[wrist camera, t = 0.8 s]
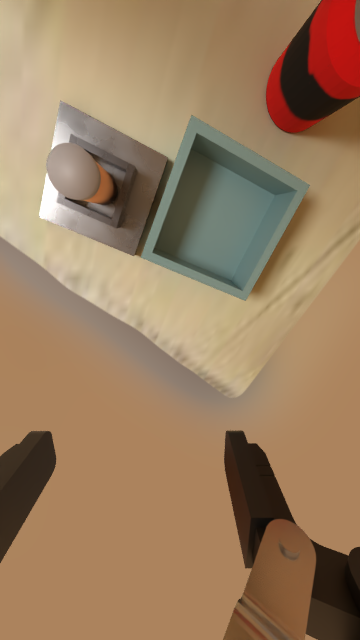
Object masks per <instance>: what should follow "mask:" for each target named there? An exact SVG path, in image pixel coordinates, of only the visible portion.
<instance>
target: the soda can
mask: <svg viewBox="0 0 360 640" xmlns="http://www.w3.org/2000/svg"><path fill="white" fill-rule="evenodd" d="M358 97H360V0H321V2H320V3H319V4H318V6H317V7H316V9H315V10H314V11H313V13H312V14H311V15H310V17H309V18H308V19H307V21H306V22H305V23H304V25H303V26H302V27H301V29H300V30H299V32H298V33H297V34H296V36H295V37H294V38H293V40H292V41H291V42H290V44H289V45H288V46H287V48H286V49H285V51H284V52H283V53H282V55H281V56H280V57H279V59H278V60H277V62H276V63H275V65H274V67H273V68H272V71H271V73H270V76H269V80H268V84H267V91H266V101H267V107H268V112H269V114H270V116H271V118H272V120H273V121H274V123H275V124H276V125H277V126H278V127H279V128H280V129H282V130H284V131H287V132H300V131H303V130H305V129H307V128H309V127H311V126H312V125H314V124H316V123H317V122H319V121H321V120H322V119H324V118H326V117H327V116H329V115H330V114H332V113H334V112H335V111H337V110H339V109H340V108H342V107H343V106H345V105H347V104H348V103H350V102H352V101H353V100H355V99H356V98H358Z"/></svg>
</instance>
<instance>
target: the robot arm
mask: <svg viewBox="0 0 360 640" xmlns="http://www.w3.org/2000/svg"><path fill="white" fill-rule="evenodd" d="M224 463H225V472H226V477H227V482H228V487H229V491H230V496H231V501H232V506H233V511H234V516H235V520H236V525H237V530H238V535H239V540H240V545H241V549H242V554H243V559H244V564H245V568H252V571H251V573H250V576H249V579H248V582H247V584H246V587H245V590H244V593H243V595H242V597H241V599H239V600H238V602H237V604H236V606H235V608H234V611H233V613H232V616H231V619H230V622H229V625H228V627H227V630H226V633H225V636H224V639H223V640H305V634H307V635H309V636H311V637H313V638H316V639H318V640H360V547H356V548H354V549H352V550H351V552H350V554H349V556H348V555H345V554H342V553H340V552H337V551H334V550H332V549H329V548H326V547H323V546H321V545H319V544H317V543H316V542H314V541H312V540H311V539H310V538H309V537H308V536H307V535H306V534H305V532H304V531H303V530H302V529H301V528H300V527H299V526H297V524H296V523H295V521H294V519H293V517H292V515H291V512H290V510H289V508H288V505H287V503H286V501H285V498H284V496H283V494H282V492H281V489H280V487H279V484H278V482H277V480H276V478H275V476H274V473H273V470H272V468H271V467H270V463H269V461H268V459H267V456H266V454H265V453H264V452H263V450H262V449H261V448H260V447H259V446H258V445H257V444H248V442H247V440H246V437H245V434H244V432H243V431H226V438H225V454H224ZM55 465H56V455H55V449H54V444H53V439H52V434H51V432H49V431H31V432H30V433H29V434H28V435H27V436H26V437H25V438H24V439H23V441H22V442H21V443H20V444H16V445H15V446H13V447H12V448H10V449H9V450H7V451H6V452H5V453H4V454H2V455H1V456H0V563H1V561H2V559H3V557H4V556H5V554H6V552H7V551H8V549H9V547H10V546H11V544H12V542H13V540H14V539H15V537H16V535H17V534H18V531H19V530H20V528H21V527H22V525H23V523H24V522H25V520H26V518H27V516H28V515H29V513H30V511H31V509H32V507H33V506H34V504H35V502H36V501H37V499H38V497H39V496H40V494H41V492H42V490H43V489H44V487H45V485H46V484H47V482H48V480H49V479H50V477H51V475H52V473H53V471H54V468H55Z"/></svg>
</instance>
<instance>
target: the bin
mask: <svg viewBox="0 0 360 640" xmlns="http://www.w3.org/2000/svg"><path fill="white" fill-rule="evenodd" d="M309 186H310V185H309V184H307V183H306V182H304V181H302V180H301V179H299V178H297V177H295V176H294V175H292V174H290V173H289V172H287V171H285V170H284V169H282V168H280V167H279V166H277V165H275V164H274V163H272V162H270V161H268V160H267V159H265V158H263V157H262V156H260V155H258V154H257V153H255V152H253V151H252V150H250V149H248V148H247V147H245V146H243V145H241V144H240V143H238V142H236V141H235V140H233V139H231V138H230V137H228V136H226V135H225V134H223V133H221V132H220V131H218V130H216V129H214V128H213V127H211V126H209V125H208V124H206V123H204V122H203V121H201V120H199V119H198V118H196V117H194V116H193V115H191V118H190V121H189V124H188V126H187V129H186V132H185V135H184V138H183V140H182V143H181V146H180V149H179V152H178V154H177V157H176V160H175V163H174V166H173V168H172V171H171V174H170V177H169V180H168V183H167V185H166V188H165V191H164V194H163V197H162V199H161V202H160V205H159V208H158V211H157V213H156V216H155V219H154V222H153V225H152V227H151V230H150V233H149V236H148V239H147V242H146V244H145V247H144V250H143V253H142V256H141V258H143V259H146V260H148V261H150V262H153V263H155V264H158V265H160V266H162V267H165V268H167V269H170V270H172V271H175V272H177V273H179V274H182V275H184V276H187V277H189V278H191V279H194V280H196V281H199V282H201V283H204V284H206V285H208V286H211V287H213V288H216V289H218V290H220V291H223V292H225V293H228V294H230V295H233V296H235V297H237V298H240V299H242V300H245V301H246V299H247V297H248V296H249V294H250V292H251V290H252V288H253V287H254V285H255V283H256V281H257V280H258V278H259V276H260V274H261V272H262V271H263V269H264V267H265V265H266V263H267V262H268V260H269V258H270V256H271V254H272V253H273V251H274V249H275V247H276V245H277V244H278V242H279V240H280V238H281V237H282V235H283V233H284V231H285V229H286V228H287V226H288V224H289V222H290V220H291V219H292V217H293V215H294V213H295V211H296V210H297V208H298V206H299V204H300V203H301V201H302V199H303V197H304V195H305V194H306V192H307V190H308V188H309Z"/></svg>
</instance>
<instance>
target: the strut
mask: <svg viewBox="0 0 360 640" xmlns="http://www.w3.org/2000/svg"><path fill="white" fill-rule="evenodd" d="M46 166H47V174H48V177H49V179H50V182H51V183H52V185H53V186H54V188H55V189H56V190H57V191H58V192H59V193H60V194H62V195H63V196H65V197H67V198H70V199H74V200H80V201H82V200H84V201H88V202H92V203H96V204H100V205H108V204H110V203H111V202H113V201H114V199H115V198H116V195H117V185H116V182H115V180H114V178H113V177H112V176H111V175H110V174H109V173H108V172H107V171H106V170H105V169H103V168H102V167H101V166H100V165H99V164H98V163H97V162H96V161H95V160H94V159H93V157H92V156H91V155H90V154H89V153H88V152H86V151H85V150H84V149H83V148H82V147H80V146H78V145H76V144H73V143H61V144H58V145H57V146H55V147H54V148H53V149H52V150H51V151H50V153H49V155H48V158H47V164H46Z"/></svg>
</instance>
